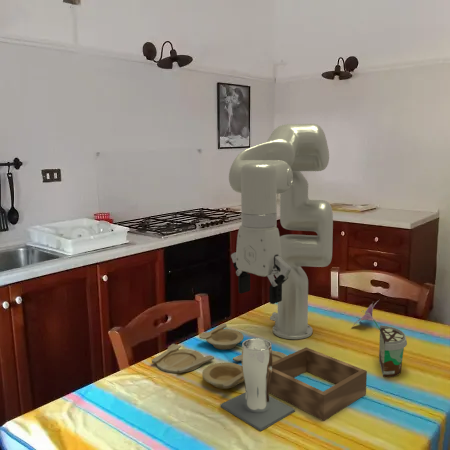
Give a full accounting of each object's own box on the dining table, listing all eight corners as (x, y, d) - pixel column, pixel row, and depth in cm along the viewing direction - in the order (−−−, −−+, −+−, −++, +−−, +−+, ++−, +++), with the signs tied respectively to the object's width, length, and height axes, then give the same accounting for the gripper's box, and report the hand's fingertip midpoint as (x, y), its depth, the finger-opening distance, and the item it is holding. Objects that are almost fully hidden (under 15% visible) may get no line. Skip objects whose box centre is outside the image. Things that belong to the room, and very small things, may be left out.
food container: (409, 381, 120) (411, 344, 119) (383, 379, 122) (385, 342, 120) (401, 360, 132) (403, 325, 131) (378, 358, 134) (379, 324, 132)
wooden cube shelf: (263, 389, 118) (263, 366, 117) (305, 368, 128) (306, 347, 127) (323, 421, 104) (324, 395, 103) (366, 394, 115) (366, 370, 114)
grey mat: (220, 406, 111) (220, 404, 110) (254, 390, 118) (254, 387, 118) (260, 431, 101) (260, 428, 101) (294, 411, 108) (294, 409, 108)
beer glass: (240, 398, 113) (239, 338, 110) (269, 396, 113) (269, 337, 111) (244, 415, 106) (243, 351, 103) (275, 413, 106) (275, 349, 104)
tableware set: (142, 363, 134) (142, 349, 134) (215, 332, 155) (215, 320, 155) (235, 408, 111) (235, 392, 110) (306, 364, 132) (306, 350, 131)
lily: (376, 322, 163) (362, 297, 163) (400, 319, 152) (385, 293, 153) (352, 340, 157) (338, 314, 158) (375, 339, 147) (360, 311, 147)
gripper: (219, 218, 107) (221, 292, 110) (276, 228, 94) (276, 311, 97) (244, 214, 111) (245, 285, 114) (301, 223, 99) (301, 302, 102)
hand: (259, 297), depth 106 cm, fingers open, 9 cm apart
